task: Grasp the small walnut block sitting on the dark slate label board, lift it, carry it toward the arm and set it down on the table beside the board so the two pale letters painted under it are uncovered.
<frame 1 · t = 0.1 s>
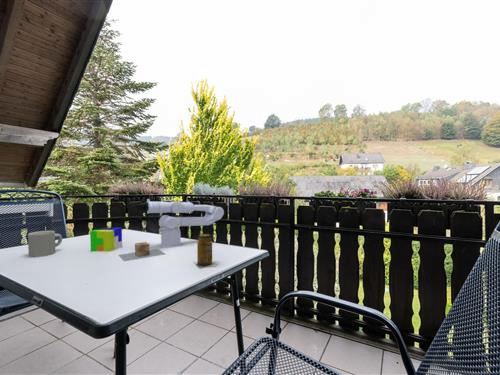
hand: (129, 207, 129), 22 cm above the table, tool horizontal, fingers open, 7 cm apart
walnut block: (142, 254, 124), resting on code tile
coffee mug: (46, 253, 127), on the table
code tile: (142, 255, 124), on the table
puzzle toy: (106, 249, 135), on the table
condiment: (205, 264, 111), on the table
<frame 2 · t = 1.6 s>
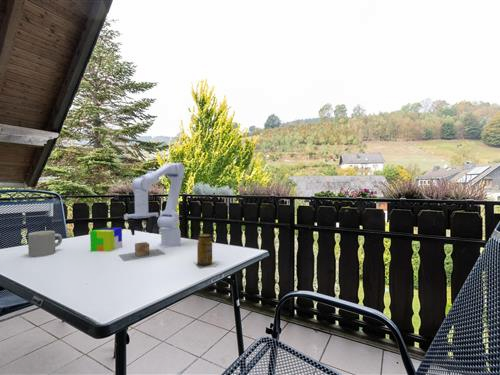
hand: (141, 233, 123), 10 cm above the table, tool pointing down, fingers open, 7 cm apart
nothing on the table moved.
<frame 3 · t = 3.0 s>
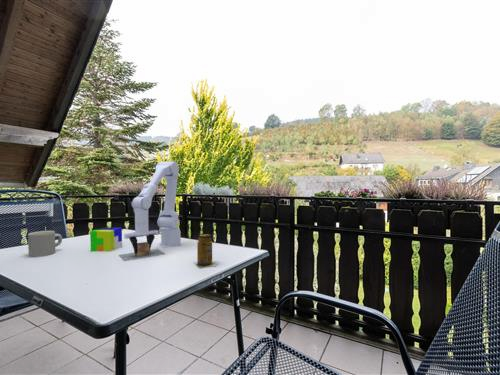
hand: (142, 252, 124), 1 cm above the table, tool pointing down, fingers closed on walnut block, 5 cm apart
walnut block: (142, 254, 124), resting on code tile, touching gripper
everything else where it was.
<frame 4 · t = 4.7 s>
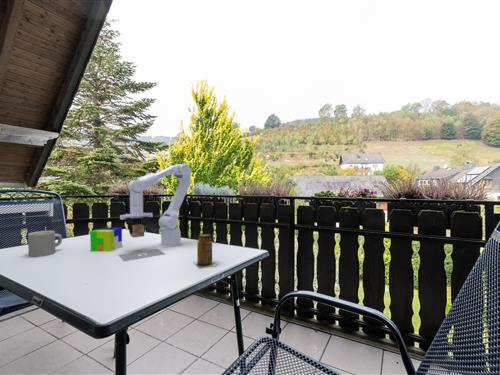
hand: (137, 233, 130), 9 cm above the table, tool pointing down, fingers closed on walnut block, 5 cm apart
walnut block: (137, 235, 130), point 8 cm above the table, touching gripper
everything else where it was.
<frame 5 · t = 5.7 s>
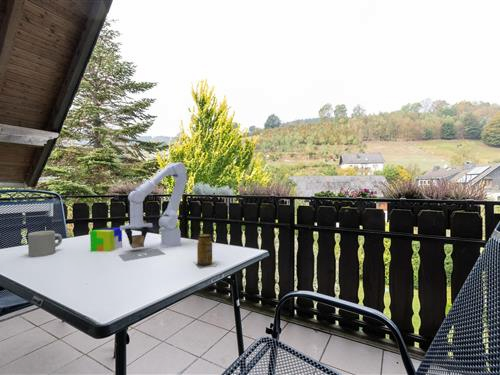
hand: (136, 243, 131), 4 cm above the table, tool pointing down, fingers closed on walnut block, 5 cm apart
walnut block: (137, 246, 131), point 2 cm above the table, touching gripper
everything else where it was.
when the fingers open (2 cm above the table, at t = 6.5 s): walnut block drops 1 cm, on the table.
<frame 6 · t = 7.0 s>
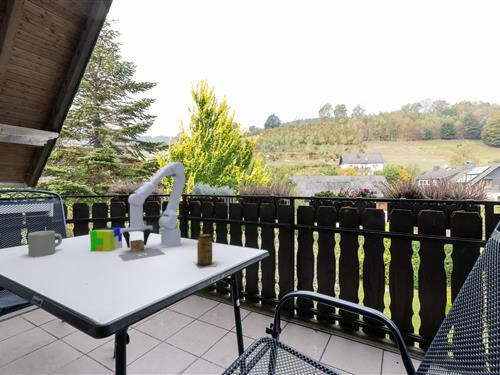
hand: (136, 246, 131), 2 cm above the table, tool pointing down, fingers open, 7 cm apart
walnut block: (137, 251, 131), on the table
everything else where it was.
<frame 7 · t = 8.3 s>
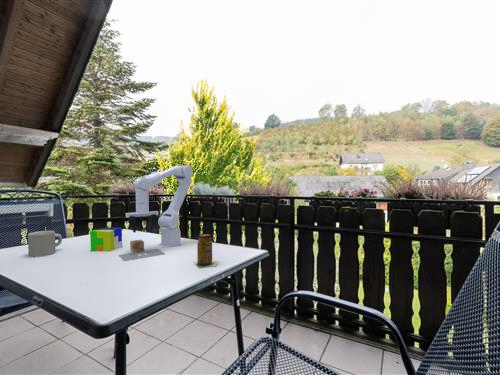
hand: (142, 231, 129), 10 cm above the table, tool pointing down, fingers open, 7 cm apart
nothing on the table moved.
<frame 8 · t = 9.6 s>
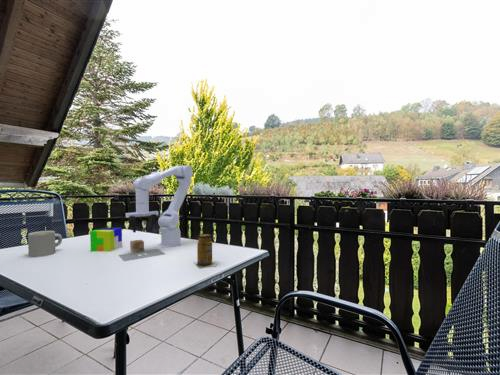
hand: (142, 231, 129), 10 cm above the table, tool pointing down, fingers open, 7 cm apart
nothing on the table moved.
at the end: walnut block inside the target area (0.8 cm from its centre), on the table; walnut block touching table; the gripper is holding nothing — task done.
